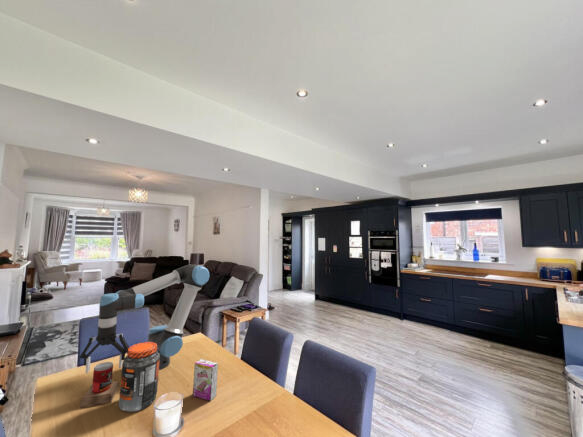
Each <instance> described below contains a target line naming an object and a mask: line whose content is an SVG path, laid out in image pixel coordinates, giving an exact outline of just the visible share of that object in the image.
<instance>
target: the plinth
mask: <svg viewBox="0 0 583 437" xmlns="http://www.w3.org/2000/svg"><path fill="white" fill-rule="evenodd" d="M119 383H120V382H119V381H118V380H115V381H112V383H111V387H110V388H109V389H108V390H107V391H105V392H102V393H93V392H92V385H90V387H89V389H88V390H86V393H85V394H84V396H83V397H82V398H81V400H80V405H79V408H80V409H81V408H87V407H88V408H89V407H93V406H99V405H104V404H105V405H106V404H109V403H112V402H113V400H114V398H115V396H116V394H117V392H118V390H119V388H120V384H119Z"/></svg>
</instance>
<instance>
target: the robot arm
mask: <svg viewBox="0 0 583 437" xmlns="http://www.w3.org/2000/svg"><path fill="white" fill-rule="evenodd" d="M209 280H210V272H209V269H208V268H206V267H205V266H203V265H198V264H197V265H196V264H187V265H184V266H181V267H179V268H176V269H174V270H172V272H170V273H168V274H164V275H162V276H159V277H157V278H154V279H152V280H149V281H147V282H144V283H141V284H138V285H136V286H133V287H130V288H128V289H126V290H125V289H123V290H122V289H121V290H117V292H115V293H114V292H113V293H110V292H109V293H105V294H102V295H101V296H100V299H99V304H98V306H99V309H98V310H99V311H98V323H97V326H98V328H97V334H96V335H97V336H94V335H92V336H90V337H89V338H88V343H87V344H86V346H85V348H84V349H83V351H82V352H81V354H80V355H79V359H83V366H85V374H88V373H89V371H90V368H91V357H92V356H91V355H92V354H93V353H94V351H96V349H97V348H98V347H99V346H109V345H112V346H113V347H114V348H115V349H116V350H118V352H119V353H120V354H119V361H118V369H122V364H123V360H124V359H125V357H126V354H127V352H128V349H129V347H130V346H129V345H128V343H127V341H126V339H125V337H124V333H123V332H121V333H119V334H118V333H117V324H118V323H117V320H118V312H124V311H129V310H130V311H131V310H136V309H139V308H142V307H143V306H144V304H145V297H146V296H149V295H151V294H153V293H155V292H158V291H161V290H162V289H165V288H167V287H170V286H172V285H175V284H178V285H179V284H181V283H183V285H184V288H183V290H182V293H181V295H180V297H179V300H178V301H177V305H176V307H175V309H174V311H173V313H172V315H171V319H170V320H169V323H168V324H167V325H166V324H164V325H162V324H161V325H157V326H156V325H155V326H153V327H151V328H150V329H149V330H148V334H147V342H154V343H156V344H157V351H158V352H159V355H160V361H159V371H160V370H162V369H164V368H167V367H168V366H169V365H170V364H171V357H174V356H175V355H176V354H178V353H179V352H180V351H181V349H182V348H183V344H184V340H183V336H184V334H185V333H184V330H183V329H184V326H185V324H186V321H187V320H188V317H189V313H190V312H191V308H192V307H193V304H194V301H195V299H196V297H197V293H198V292H199V291H200V290H202V288H203V285H205V284H207V282H209ZM116 338H117V339H119V341H120V343H119V342H118V341H117V339H116ZM95 341H97V343H96V344H95V345H94V346H93V347H92V348H91V350H90V351H89V352H88V350H89V349H90V347H91V345H92V344H93V342H95ZM87 352H88V353H87ZM86 353H87V354H86Z"/></svg>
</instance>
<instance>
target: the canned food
mask: <svg viewBox="0 0 583 437" xmlns="http://www.w3.org/2000/svg"><path fill="white" fill-rule="evenodd" d="M113 372H114V362H111V361H104V362H100V363H98V364H96V365H94V368H93V374H92V375H93V376H92V383H91V386H92V392H93V393H102V392H105V391H107V390H108V389H109V388H110V387H111V383H112V382H113Z"/></svg>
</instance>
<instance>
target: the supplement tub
mask: <svg viewBox="0 0 583 437" xmlns="http://www.w3.org/2000/svg"><path fill="white" fill-rule="evenodd" d="M159 361H160V355H159V352H158V351H157V344H156V343H154V342H148V341H145V342H138V343H136V344H133V345H131V346H129V349H128V352H126V355H125V359H124V360H122V366H121V378H120V385H119V388H120V390H119V398H118V407H119V410H121V411H124V412H130V413H131V412H138V411H142V410H144V409H145V408H148V407H149V406H150V405H152V404H153V403H154V402H155V401H156V397H157V396H158V395H157V393H158V384H159V372H160V370H159Z"/></svg>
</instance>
